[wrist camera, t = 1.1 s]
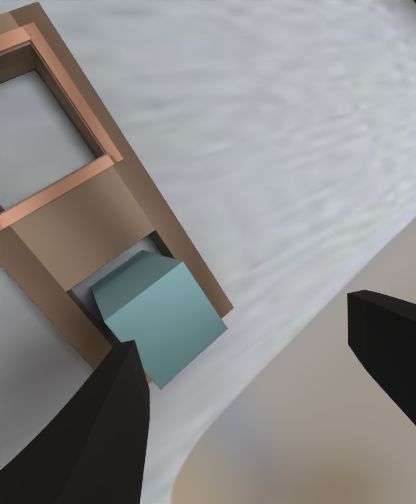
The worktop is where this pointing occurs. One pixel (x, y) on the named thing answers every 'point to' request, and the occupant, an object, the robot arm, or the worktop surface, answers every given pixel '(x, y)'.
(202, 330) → the peg
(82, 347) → the wooden double hole frame
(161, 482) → the worktop surface
